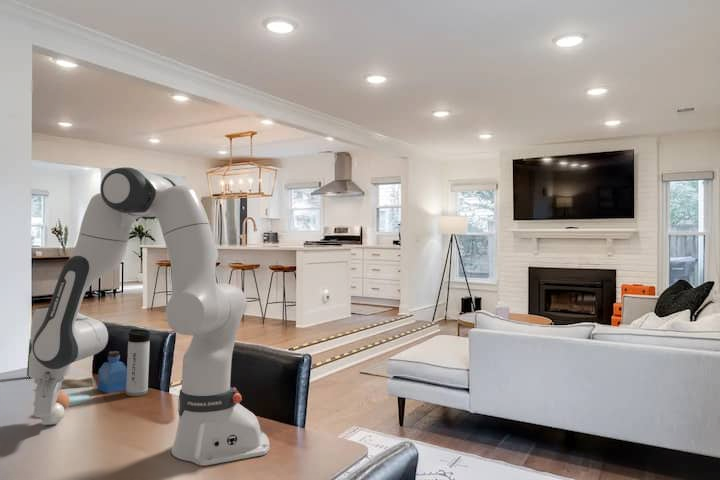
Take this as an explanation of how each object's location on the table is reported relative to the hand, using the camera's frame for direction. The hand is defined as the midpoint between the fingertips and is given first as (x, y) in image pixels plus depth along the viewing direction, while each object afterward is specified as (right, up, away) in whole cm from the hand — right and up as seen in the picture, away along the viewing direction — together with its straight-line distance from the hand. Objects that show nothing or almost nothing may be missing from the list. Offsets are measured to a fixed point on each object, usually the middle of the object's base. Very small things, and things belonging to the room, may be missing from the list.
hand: (46, 422), depth 125 cm
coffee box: (-31, -1, +46) cm, 56 cm away
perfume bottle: (-1, -2, +35) cm, 36 cm away
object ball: (-5, +1, +13) cm, 14 cm away
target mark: (-10, -2, +23) cm, 25 cm away
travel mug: (+8, -3, +32) cm, 33 cm away
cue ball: (-1, +1, +4) cm, 4 cm away
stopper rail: (-15, -2, +36) cm, 39 cm away
